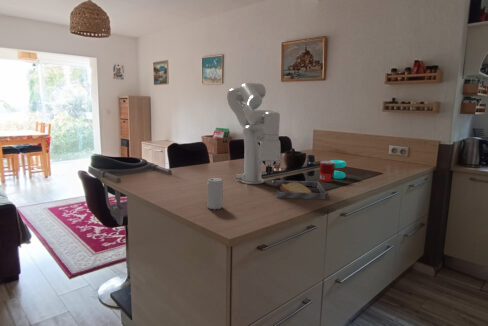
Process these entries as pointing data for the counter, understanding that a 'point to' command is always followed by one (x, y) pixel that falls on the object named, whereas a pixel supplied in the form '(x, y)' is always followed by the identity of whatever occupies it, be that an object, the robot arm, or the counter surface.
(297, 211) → the counter surface
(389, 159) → the counter surface
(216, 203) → the beverage can
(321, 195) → the corral
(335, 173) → the donuts
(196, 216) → the counter surface
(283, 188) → the bread slice
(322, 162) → the canned food
